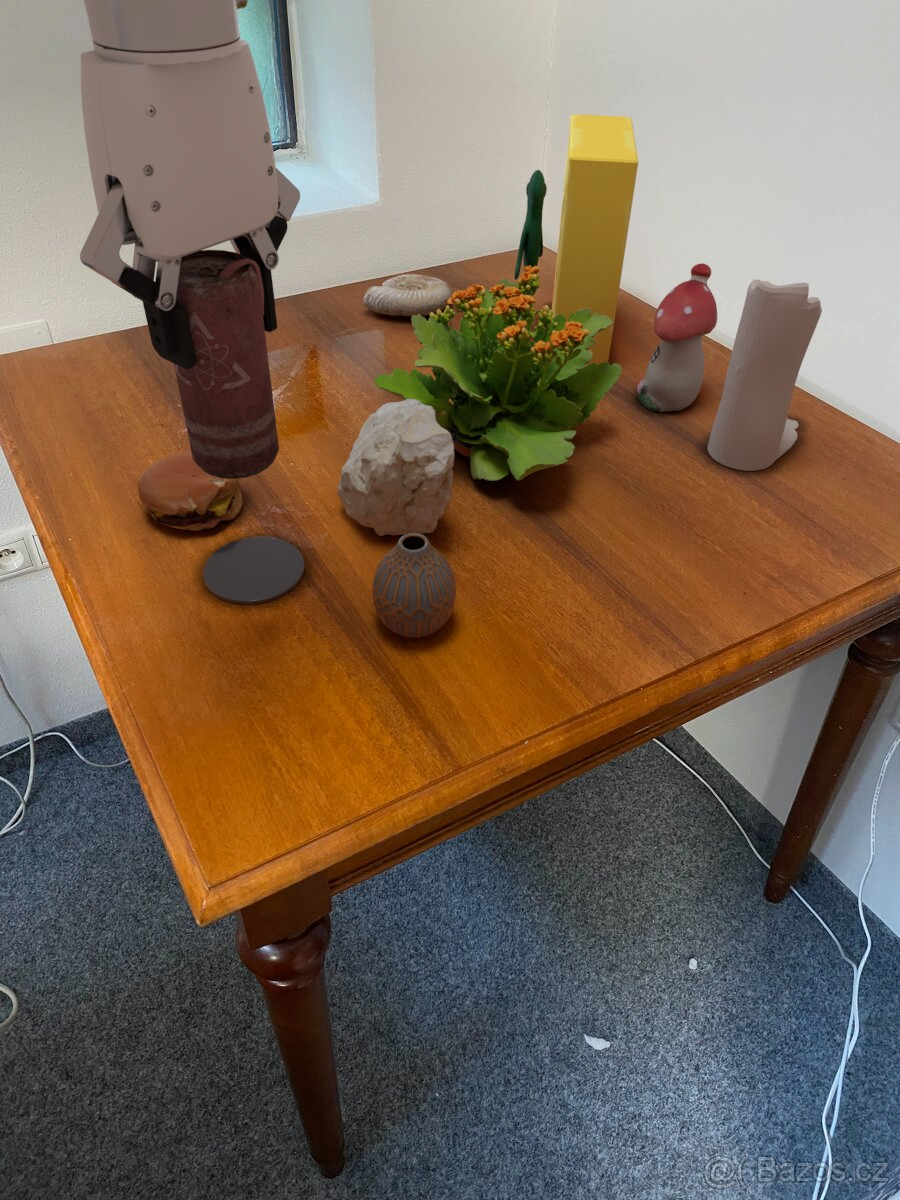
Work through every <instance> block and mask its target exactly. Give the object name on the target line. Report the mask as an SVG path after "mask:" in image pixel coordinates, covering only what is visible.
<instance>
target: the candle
mask: <svg viewBox="0 0 900 1200" xmlns="http://www.w3.org/2000/svg"><path fill="white" fill-rule="evenodd" d="M809 287H810V285H809V283H807V282H796V283H795V282H794V283H789V284H783V285H781V284H780V285H776V284H773V282H770V281H768V280H767V281H766V280H760V279H752V281H751V282H750V283H749V284H748V287H747V291H746V296H745V299H744V304H743V308H742V312H741V316H740V319H739V323H738V327H737V330H736V335H735V340H734V342H733V347H732V352H731V355H730V359H729V363H728V368H727V372H726V376H725V381H724V386H723V389H722V394H721V398H720V402H719V405H718V409H717V412H716V415H715V418H714V422H713V425H712V429H711V432H710V435H709V439H708V442H707V446H706V447H707V452H708V454H709V456H711V458H712V459H713V460H715V461H716V462H717V463H719V464H720V465H723V466H725V467H728V468H731V469H734V470H737V471H744V472H752V471H753V472H754V471H761V470H765V469H768V468H769V467H770V466H772V465H773V464H774V463H775V462H776V461H777V460H778V459H779V458H780V457H781V456H783V455H785V453H786V452H788V451H789V450H790V449H791V448H792V447H793V445H794V444H795V442H796V441H798V432H797V431H796V430H797V428H799V422H798V421H797V420H794V419H790V418H788V416H789V412H790V407H791V403H792V397H793V393H794V389H795V386H796V382H797V379H798V376H799V372H800V369H801V366H802V364H803V361H804V359H805V356H806V353H807V351H808V347H809V346H810V343H811V340H812V338H813V337H814V336H813V335H814V333H815V330H816V329H817V325H818V323H819V321H820V318H821V315H822V312H823V308H822V305H821V300H820V299H819V297H818V296H810V297H809V294H810V293H809V290H810V288H809Z"/></svg>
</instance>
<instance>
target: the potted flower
mask: <svg viewBox="0 0 900 1200" xmlns="http://www.w3.org/2000/svg"><path fill="white" fill-rule="evenodd" d="M522 268H523V271H522V274H521V275H520V278H519V277H518V279H517V282H515V281H514V282H511V281H510V280H509V279H506V278H504V279H502V280H499V281H498V282H497V283H496V285H494V286H491V287H490V288H489V289H487V288H485V285H480V284H477V283H476V284H471V285H469V286H468V287H467V288H465V289H464V290H463V289H462V290H460V289H458V290H457V291H454V292H452V296H451V297H450V298H449V300H448V301H447V304H449V305H447V306H446V308H444V310H443V312H442V310H439V309H438V310H437V312H436V313H432V312H431V313H430V315H429V318H428V319H426V317H424V316H423V315H422V316H421V315H420V314H418V315H417V316H416V315H413V316H411V327H412V329H413V330H414V331H413V334H414V336H415V338H416V340H417V341H418V343H419V344H420V345H422V347H420V348H418V349H417V351H416V356H417V357H418V358H419V359H414V367H416V368H417V369H416V368H412V369H411V371H410V373H409V371H407V370H405V369H401V368H393V370H392V373H390V374H387V373H382V374H381V375H377V376H376V377H375V378H373V382H374V384H375V386H376V387H377V388H378V389H382V390H384V391H387V392H388V393H390V394H392V395H394V396H396V397H399V398H401V399H403V401H404V400H407V399H408V398H410V399H416V400H419V401H420V402H422V403H423V404H424V405H427V406H432V407H433V409H434V410H435V413H436V415H437V414H439V416H438V417H436V421H437V423H438V424H439V425H440V426H441V427H442V428H444V429H446V430H447V431H448V432H449V433H450V434H451V437H452V441H453V446H454V450H456V451H457V453H458V454H460V455H462V456H464V457H466V458H469V464H470V474H471V478H472V480H475V481H476V480H477V479H478V480H479V481H481V480H483V479H484V480H485V481H489V482H497V481H499V480H502V479H503V478H505V477H507V476H508V475H509V473H511V475H512V476H513V477H514V479H515V480H516V481H522V480H523V479H525V478H526V477H527V476H529V475H531V474H533V473H536V472H539V471H543V470H546V469H549V468H553V467H557V466H560V465H562V464H565V463H568V458H570V457H571V456H573V454H574V451H575V449H576V446H575V445H574V444H573V443H572V441H573V440H574V437H575V436H576V434H577V430H573V428H577V427H578V425H582V424H585V423H586V419H589V418H590V417H591V415H592V412H594V411H595V410H596V409H597V408H598V403H599V402H601V400H602V399H603V398H604V397H605V394H607V393H608V392H609V391H610V390H611V389H612V388H613V386H614V385H615V384H617V382H619V380H620V376H621V374H622V366H621V365H620V364H618V363H616V362H614V363H612V364H611V363H610V362H609V361H608V362H603V363H600V364H599V365H597V364H596V363H591V364H588V365H587V366H586V364H587V363H589V361H590V360H591V359H592V356H593V354H592V352H591V350H588V351H586V350H587V349H589V348H590V347H591V346H592V345H594V344H595V340H594V339H593V337H594V336H595V335H596V333H597V332H599V331H602V330H604V329H606V328H608V327H609V326H610V325H612V324H613V322H612V320H611V319H610V318H609V317H607V316H605V315H600V316H599V315H598V313H597V312H595V313H594V314H593V315H592V316H591V310H590V309H589V308H584V309H581V310H578V311H577V313H576V314H575V313H574V312H572V313H571V314H570V316H569V319H568V322H567V319H566V317H565V316H564V315H563V314H558V315H557V316H556V317H554V318H553V317H552V315H553V313H554V311H552V308H550V307H549V306H548V305H547V304H545V305H543V306H542V308H541V309H539V310H536V311H535V307H534V306H533V305H534V304H535V303H537V300H536V298H535V297H534V296H535V294H536V293H537V290H538V289H539V288H540V287H541V285H540V279H539V278H540V274H539V272H540V270H541V267H538V265H537V266H535V267H533V268H532V267H531V265H529V266H526V267H524V266H523V267H522ZM524 269H525V270H526V271H524ZM528 292H530V294H529V293H528ZM450 305H455V309H456V311H454V309H453V308H451V307H450ZM456 313H463V315H462V317H461V318H460V320H459V330H457V329H455V328H454V327H453V326H452V323H453V320H452V319H453V318H454V317H455V316H456ZM536 315H538V319H539V320H537V325H536V326H534V327H533V329H535V330H534V331H533V332H532V326H533V323H534V322H535V319H536V317H535V316H536ZM590 316H591V317H590ZM552 320H553V322H552ZM449 322H450V323H449ZM448 325H449V326H448ZM531 337H532V338H533V341H530V338H531ZM418 368H432V369H431V372H432V374H433V376H434V377H435V378H433V376H432V375H431V374H423V373H422V371H418ZM450 400H451V402H450ZM443 412H445V414H444V413H443Z"/></svg>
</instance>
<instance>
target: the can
mask: <svg viewBox="0 0 900 1200" xmlns="http://www.w3.org/2000/svg"><path fill="white" fill-rule="evenodd" d="M251 265H252V266H251ZM176 303H178V304H180V305H182V306H184V307H185V308H186V310H187V315H188V320H189V325H190V330H191V336H192V341H193V346H194V351H195V357H196V363H195V366H194V367H192V368H190V369H187V370H186V369H184V368H182V367H180V366H178V365H176V364H174V363H173V367H174V372H175V376H176V382H177V386H178V392H179V396H180V397H179V398H180V402H181V408H182V412H183V417H184V421H185V422H184V423H185V426H186V431H187V436H188V442H189V446H190V447H189V448H190V452H192V457H193V460H194V462H195V463H196V464H197V465H198V466H199V467H200V468H201V469H202V470H203V471H204V472H206V473H208V474H210V475H211V476H215V477H219V478H224V479H238V480H239V479H245V478H249V477H253V476H256V475H259V474H260V473H262V472H264V471H266V470H268V469H269V467H271V465H272V464H273V463H274V462H275V460H276V458H277V456H278V453H279V450H280V445H279V444H280V443H279V437H278V429H277V419H276V411H275V404H274V396H273V395H274V394H273V388H272V379H271V370H270V361H269V355H268V346H267V345H268V344H267V339H266V338H267V337H266V331H265V329H264V320H263V316H264V290H263V285H262V279H261V274H260V268H259V266H258V265H257V263H256V262H255V261H253V260H251V259H249V258H246V257H245V256H243V255H241V254H238V253H236V252H235V251H229V250H223V249H203V250H201V251H198V252H195V253H192V254H189V255H186V256H183V257H181V265H180V273H179V281H178V288H177V296H176Z"/></svg>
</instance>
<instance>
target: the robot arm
mask: <svg viewBox="0 0 900 1200" xmlns="http://www.w3.org/2000/svg"><path fill="white" fill-rule="evenodd" d="M83 4H84V8H85V14H86V17H87V21H88V22H87V23H88V27H89V31H90V35H91V39H92V44H93V50H89V51H84V52H82V53H81V54H80V94H81V109H82V120H83V130H84V136H85V137H84V138H85V143H86V150H87V151H86V152H87V158H88V164H89V171H90V176H91V182H92V187H93V193H94V198H95V201H96V202H95V203H96V208H97V212H98V214H97V216H96V219H95V220H94V223H93V225H92V227H91V229H90V232H89V234H88V236H87V238H86V240H85V241H84V244H83V247H82V248H81V251H80V253H79V258H80V259H79V260H80V262H81V264H83V266H85V267H87V268H89V269H90V270H91V271H93V272H95V273H96V274H98V275H100V276H102V277H103V278H104V279H107V280H108V281H110V282H111V283H112V284H114V285H116V286H117V287H118V288H121V289H122V290H124V291H125V292H127V293H128V294H130V295H131V296H132V297H134V298H136V299H137V300H140V301H141V302H142V306H143V310H144V314H145V319H146V323H147V328H148V332H149V337H150V342H151V345H152V347H153V349H154V351H155V352H156V353H157V354H158V356H159V357H160V358H162V359H163V360H166V361H168V362H170V363H172V364H173V365H174V364H176V365H178V366H180V367H182V368H184V369H186V370H187V369H190V368H192V367H194V366H195V363H196V357H195V351H194V346H193V341H192V336H191V330H190V325H189V320H188V315H187V310H186V308H185V307H184V306H182V305H180V304H178V303H176V296H177V288H178V281H179V273H180V265H181V257H183V256H186V255H189V254H192V253H195V252H198V251H201V250H207V249H209V248H211V247H215V246H218V245H220V244H223V243H226V242H228V241H229V242H230V244H231V247H232V248H233V250H234V252H235V253H238V254H241V255H243V256H245V257H246V258H249V259H251V260H253V261H255V262H256V263H257V265H258V266H259V268H260V274H261V279H262V285H263V290H264V316H263V320H264V329H265V332H267V333H272V332H273V331H276V330H277V329H278V320H277V313H276V299H275V293H274V284H273V274H272V270H274V269H276V267H278V264H279V261H280V259H279V254H278V250H279V249H280V246H281V244H282V242H283V240H284V238H285V236H286V235H287V232H288V222H290V221H291V218H292V217H293V214H294V212H295V210H296V208H297V207H298V204H299V202H300V199H301V192H300V190H299V189H298V187H296V186H295V184H293V183H292V181H290V179H288V178H287V177H286V175H284V174H283V173H282V172H281V171H280V170H279V169H278V168H277V167H276V160H275V153H274V145H273V141H272V133H271V128H270V123H269V118H268V114H267V109H266V104H265V99H264V94H263V91H262V87H261V82H260V79H259V75H258V71H257V67H256V64H255V61H254V57H253V55H252V51H251V48H250V44H249V42H247V41H246V40H244V39H242V38H241V29H240V20H239V13H238V10H244V9H245V8H246V7H247V4H248V0H83ZM133 244H134V247H133V248H134V250H133V259H132V266H131V265H129V264H128V263H126V262H125V261H123V259H122V258H121V256H120V250H121V248H122V246H128V245H133ZM251 266H252V265H251Z"/></svg>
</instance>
